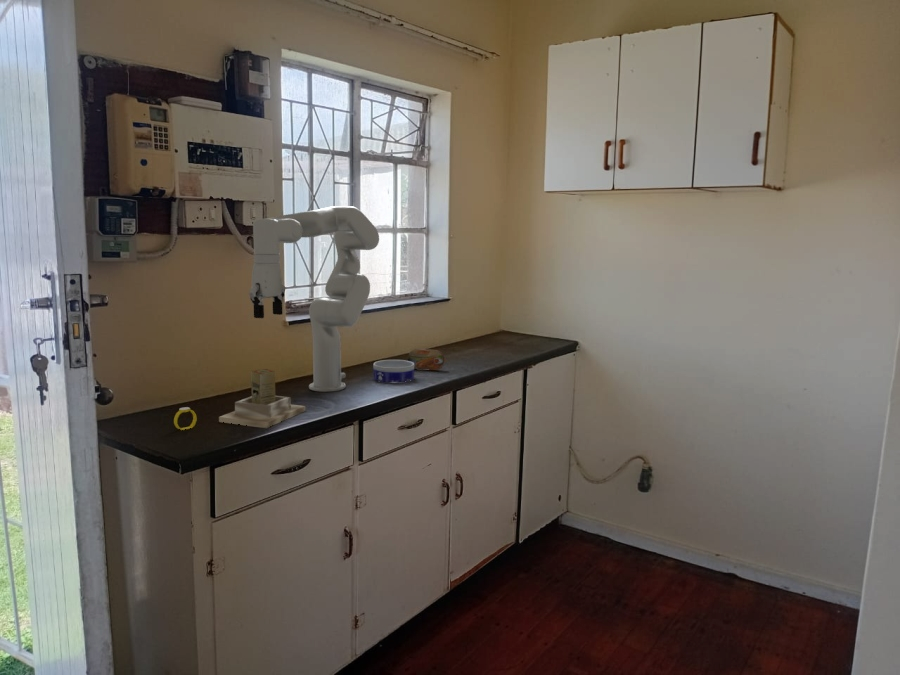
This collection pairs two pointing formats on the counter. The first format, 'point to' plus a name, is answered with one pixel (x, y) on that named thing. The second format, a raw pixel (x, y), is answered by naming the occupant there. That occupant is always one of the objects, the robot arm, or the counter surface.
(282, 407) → the socket board
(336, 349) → the robot arm
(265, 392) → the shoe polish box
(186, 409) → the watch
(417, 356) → the food package
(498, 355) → the counter surface
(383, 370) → the dog bowl
